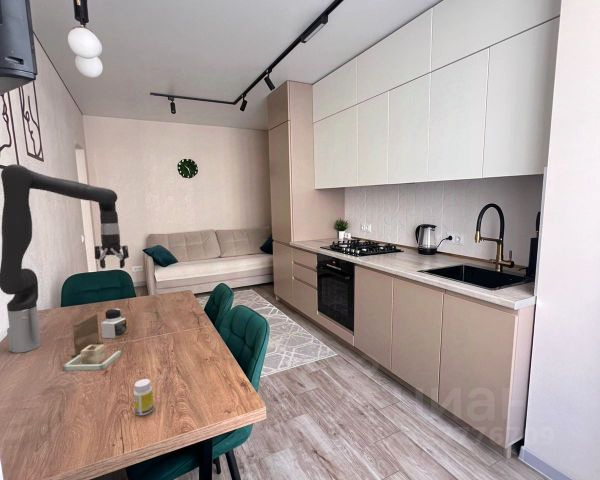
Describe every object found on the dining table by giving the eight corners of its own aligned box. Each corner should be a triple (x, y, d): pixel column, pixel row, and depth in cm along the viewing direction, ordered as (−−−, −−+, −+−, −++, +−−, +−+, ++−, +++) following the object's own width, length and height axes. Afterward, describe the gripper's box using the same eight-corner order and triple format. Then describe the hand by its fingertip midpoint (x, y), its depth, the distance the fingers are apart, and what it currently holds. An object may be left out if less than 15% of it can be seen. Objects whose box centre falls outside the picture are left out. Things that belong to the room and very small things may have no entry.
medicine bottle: (115, 339, 144) (113, 312, 143) (101, 337, 145) (99, 311, 144) (127, 332, 151) (125, 307, 150) (114, 331, 152) (112, 307, 151)
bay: (62, 370, 116) (62, 366, 116) (84, 355, 128) (83, 351, 128) (103, 369, 116) (102, 365, 116) (121, 354, 129) (120, 350, 128)
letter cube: (81, 365, 120) (80, 350, 120) (91, 358, 126) (89, 344, 125) (96, 365, 120) (95, 350, 120) (105, 358, 126) (104, 344, 125)
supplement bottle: (156, 405, 95) (154, 377, 94) (149, 415, 90) (147, 386, 89) (139, 405, 95) (137, 378, 94) (131, 416, 90) (129, 387, 89)
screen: (71, 357, 126) (68, 325, 125) (91, 343, 139) (89, 314, 138) (84, 357, 126) (81, 325, 125) (103, 343, 139) (101, 314, 138)
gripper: (89, 234, 146) (92, 269, 147) (121, 233, 146) (124, 269, 148) (99, 232, 153) (102, 266, 155) (129, 232, 153) (132, 266, 155)
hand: (112, 267), depth 151 cm, fingers open, 8 cm apart
